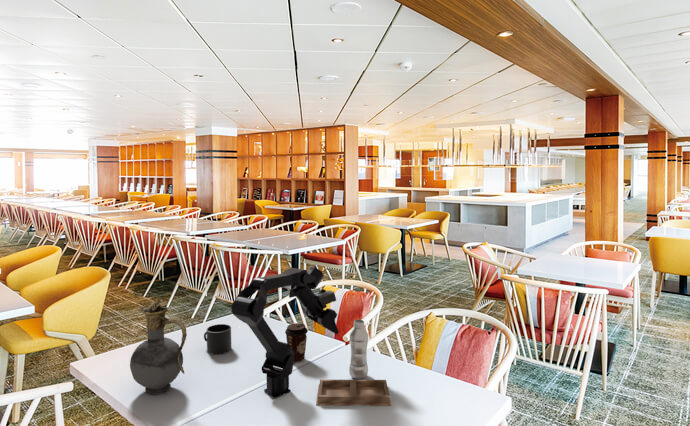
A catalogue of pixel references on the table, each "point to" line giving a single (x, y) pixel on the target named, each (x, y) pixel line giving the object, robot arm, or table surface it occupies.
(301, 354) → the coffee cup
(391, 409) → the table surface
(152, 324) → the pitcher
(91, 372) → the table surface
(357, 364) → the silver metal bottle
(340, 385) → the wooden divided tray
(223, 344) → the mug
